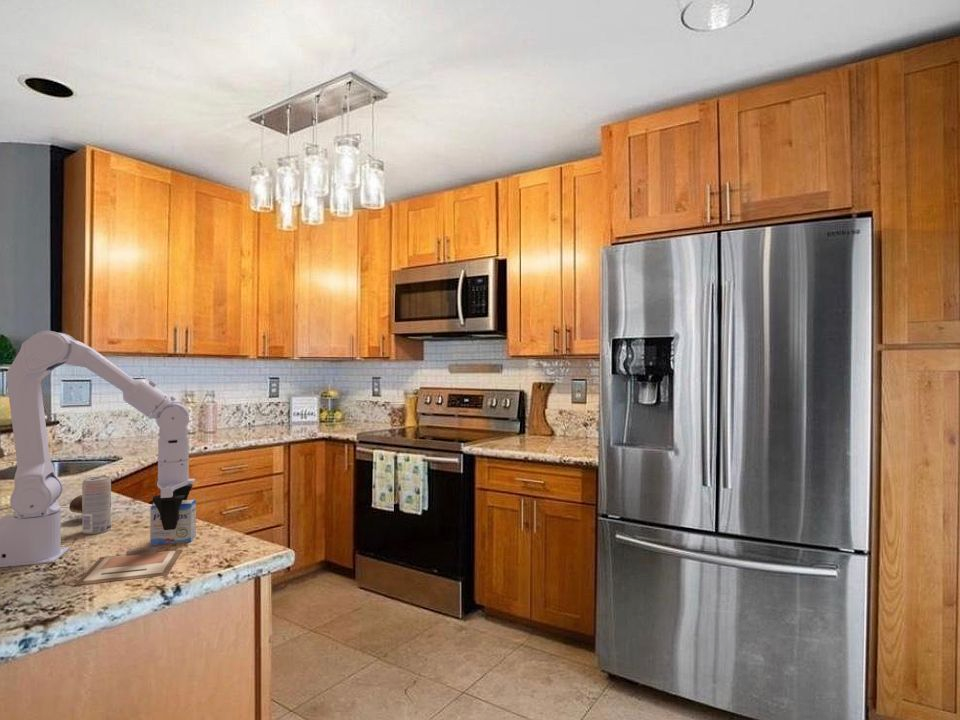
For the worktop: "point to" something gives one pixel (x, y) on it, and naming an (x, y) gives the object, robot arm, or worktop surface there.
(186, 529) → the medicine box
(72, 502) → the mushroom
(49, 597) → the worktop surface
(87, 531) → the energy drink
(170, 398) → the robot arm
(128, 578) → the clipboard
